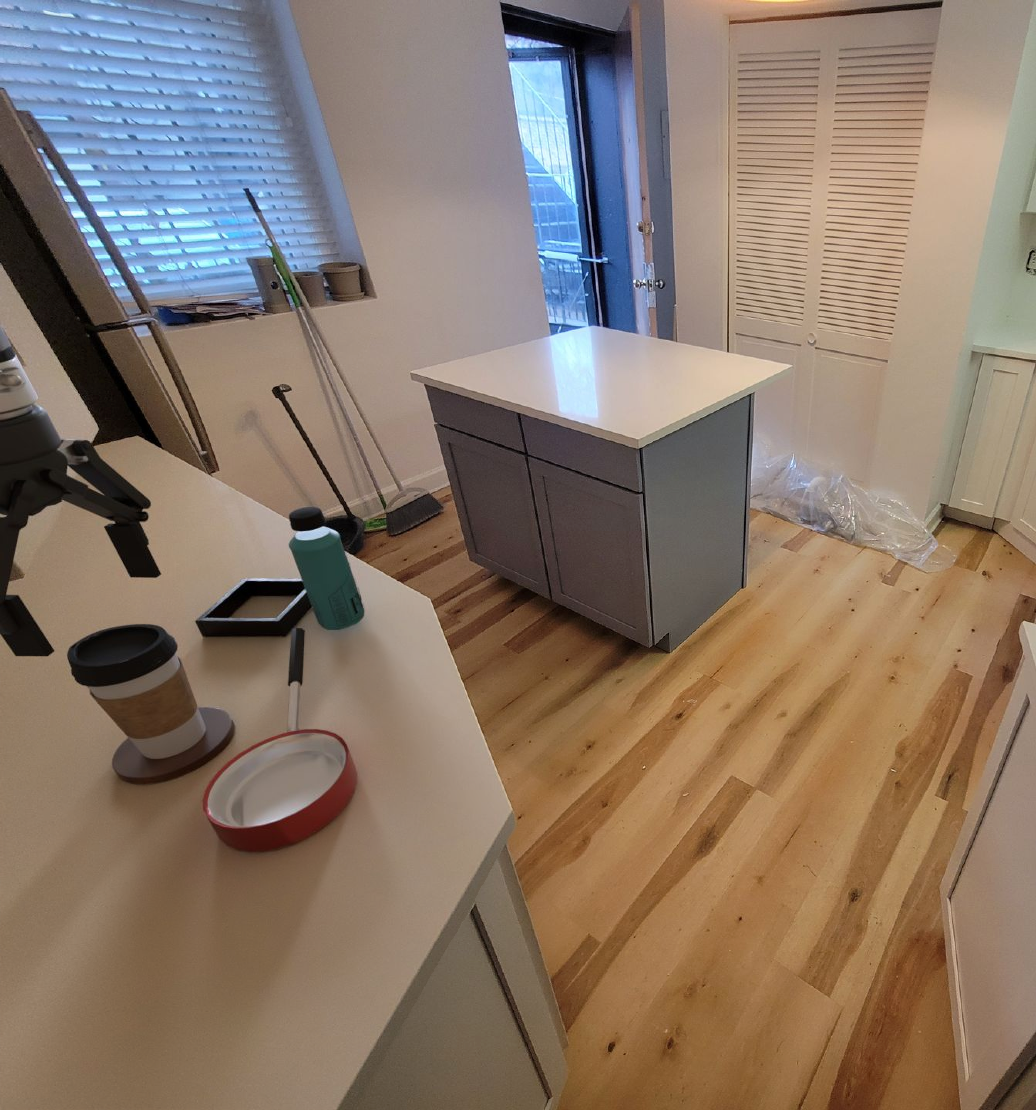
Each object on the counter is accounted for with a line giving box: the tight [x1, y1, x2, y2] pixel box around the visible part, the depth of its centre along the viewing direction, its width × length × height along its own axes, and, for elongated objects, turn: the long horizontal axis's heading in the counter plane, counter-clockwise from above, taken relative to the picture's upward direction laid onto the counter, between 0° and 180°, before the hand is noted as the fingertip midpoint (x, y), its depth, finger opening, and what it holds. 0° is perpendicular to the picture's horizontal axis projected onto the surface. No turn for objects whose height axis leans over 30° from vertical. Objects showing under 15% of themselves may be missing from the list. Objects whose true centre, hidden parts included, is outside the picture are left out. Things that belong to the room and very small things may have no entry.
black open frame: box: [194, 577, 313, 638], centre depth 95 cm, size 12×12×3 cm
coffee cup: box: [66, 623, 206, 759], centre depth 69 cm, size 8×8×15 cm
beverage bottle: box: [288, 506, 366, 631], centre depth 89 cm, size 6×7×20 cm
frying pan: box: [201, 627, 358, 853], centre depth 73 cm, size 32×13×6 cm, turn 33°
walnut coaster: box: [111, 706, 236, 785], centre depth 73 cm, size 11×11×1 cm
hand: (96, 611), depth 63 cm, fingers open, 13 cm apart
